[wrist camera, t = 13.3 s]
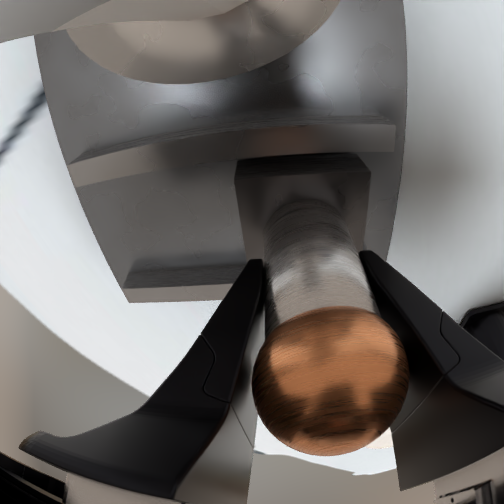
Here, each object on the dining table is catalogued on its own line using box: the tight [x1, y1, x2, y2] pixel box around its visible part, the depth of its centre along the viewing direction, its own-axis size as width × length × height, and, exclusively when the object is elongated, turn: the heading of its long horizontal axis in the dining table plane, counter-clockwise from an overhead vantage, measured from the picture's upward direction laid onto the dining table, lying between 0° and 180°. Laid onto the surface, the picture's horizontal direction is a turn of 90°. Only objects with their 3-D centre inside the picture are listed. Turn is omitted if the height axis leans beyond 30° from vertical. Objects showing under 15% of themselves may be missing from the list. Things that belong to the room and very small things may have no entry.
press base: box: [34, 0, 407, 303], centre depth 9 cm, size 14×20×3 cm
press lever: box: [234, 154, 409, 456], centre depth 8 cm, size 4×5×9 cm
